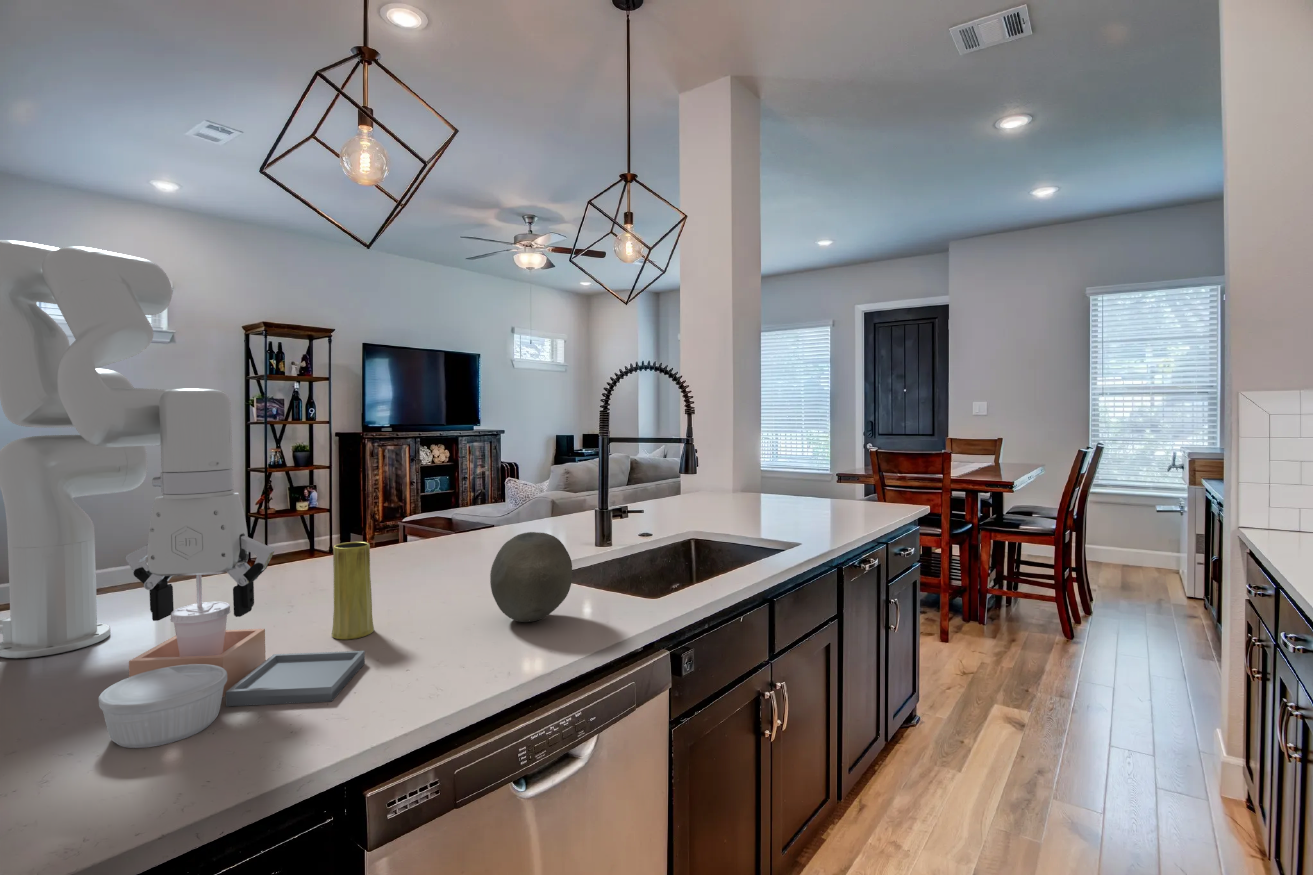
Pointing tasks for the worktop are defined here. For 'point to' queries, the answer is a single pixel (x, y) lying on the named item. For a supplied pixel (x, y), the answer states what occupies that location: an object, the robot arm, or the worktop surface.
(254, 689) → the tray
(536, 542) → the dark grey ball
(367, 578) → the vase
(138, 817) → the worktop surface
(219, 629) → the smoothie
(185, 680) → the ramekin
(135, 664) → the holder
